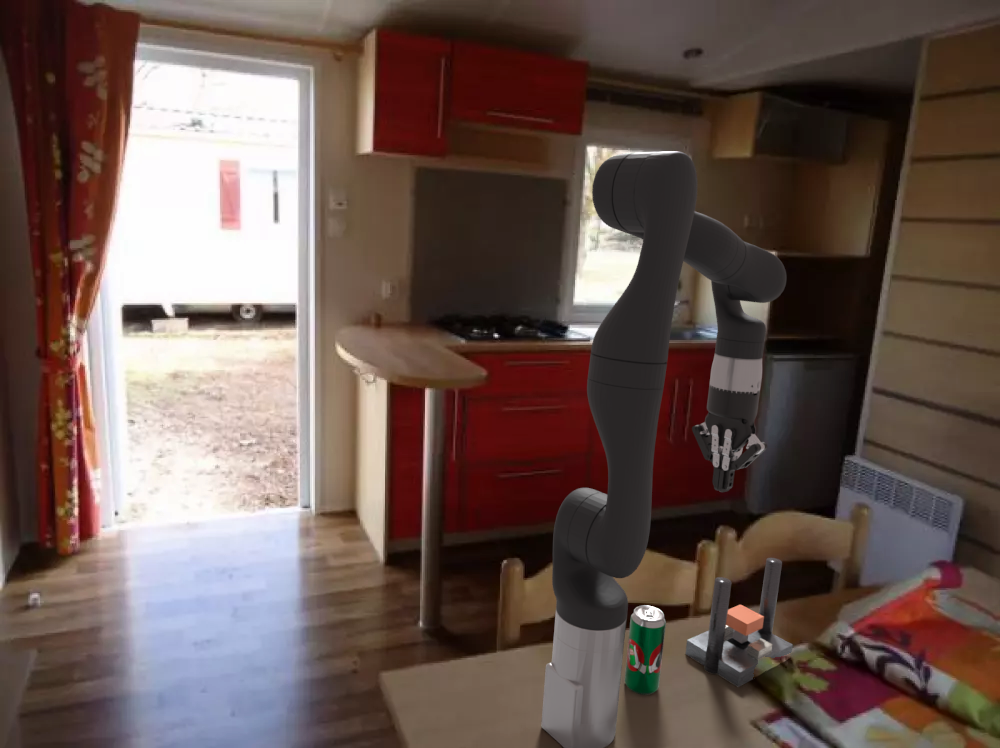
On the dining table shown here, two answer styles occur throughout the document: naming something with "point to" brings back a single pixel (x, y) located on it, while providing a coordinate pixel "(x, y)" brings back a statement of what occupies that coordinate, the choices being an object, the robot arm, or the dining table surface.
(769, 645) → the twin post stand
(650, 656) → the soda can
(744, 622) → the button
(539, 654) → the dining table surface
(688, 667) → the dining table surface
